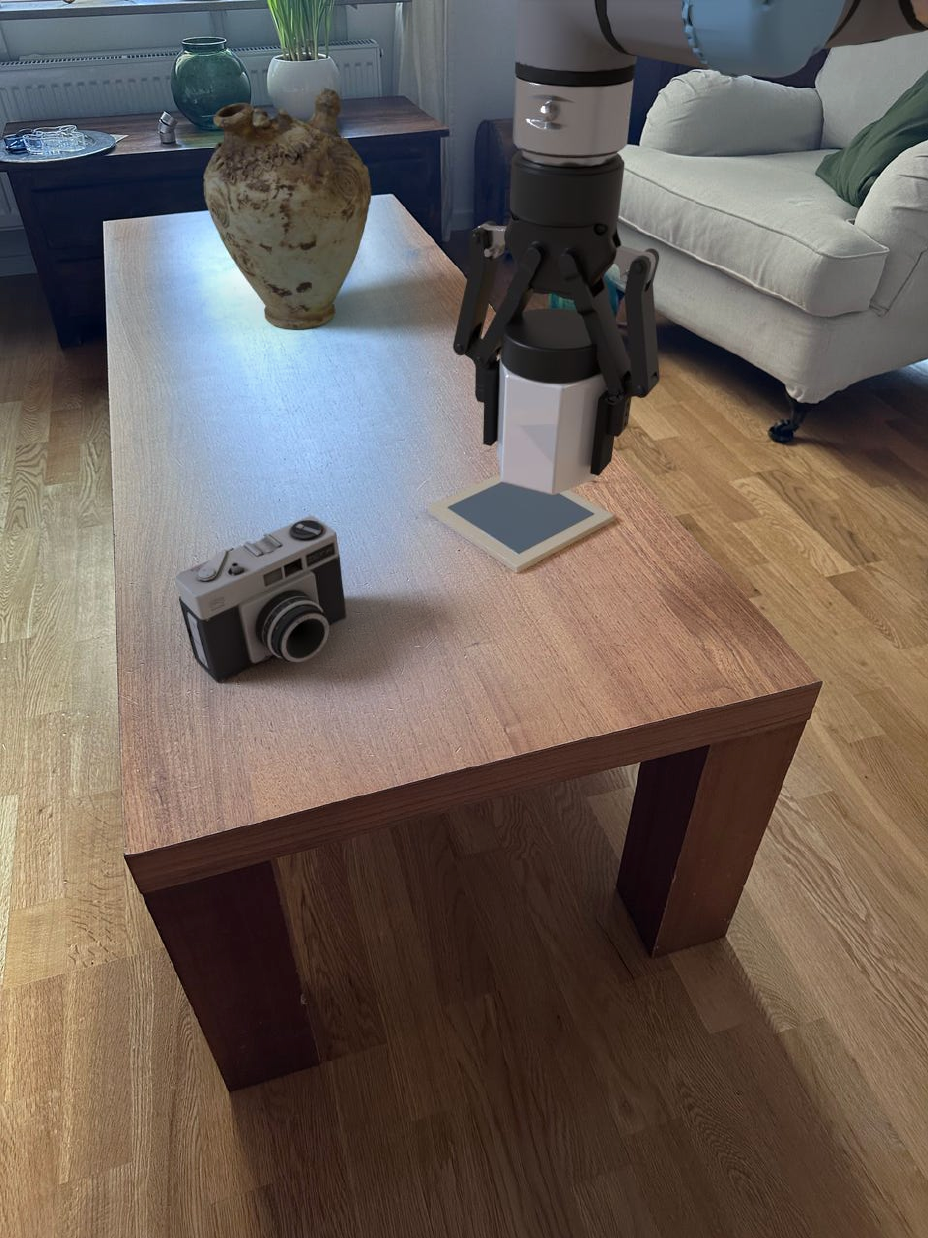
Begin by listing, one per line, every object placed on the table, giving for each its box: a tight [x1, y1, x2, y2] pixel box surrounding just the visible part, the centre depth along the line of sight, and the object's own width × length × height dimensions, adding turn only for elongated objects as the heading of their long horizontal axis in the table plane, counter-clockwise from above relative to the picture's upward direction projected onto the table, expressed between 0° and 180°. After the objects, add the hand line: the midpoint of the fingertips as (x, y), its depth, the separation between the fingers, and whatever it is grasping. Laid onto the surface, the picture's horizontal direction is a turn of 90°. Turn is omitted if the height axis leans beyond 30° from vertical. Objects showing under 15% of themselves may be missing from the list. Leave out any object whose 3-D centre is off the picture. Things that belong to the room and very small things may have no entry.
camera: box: [174, 515, 347, 684], centre depth 75 cm, size 14×9×10 cm, turn 124°
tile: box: [427, 473, 615, 574], centre depth 94 cm, size 14×14×1 cm
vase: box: [202, 87, 372, 330], centre depth 126 cm, size 23×23×30 cm
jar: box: [495, 307, 607, 495], centre depth 70 cm, size 9×8×12 cm
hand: (546, 451), depth 73 cm, fingers closed on jar, 9 cm apart
